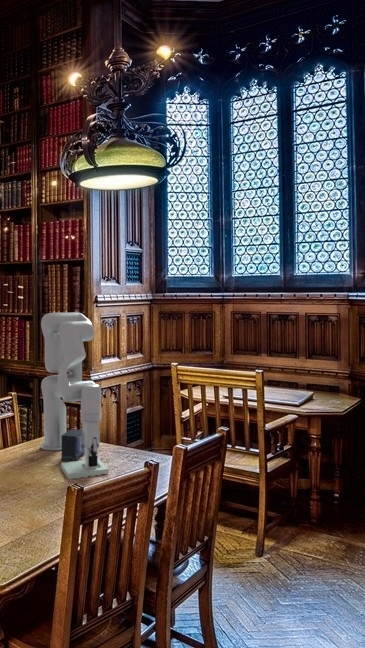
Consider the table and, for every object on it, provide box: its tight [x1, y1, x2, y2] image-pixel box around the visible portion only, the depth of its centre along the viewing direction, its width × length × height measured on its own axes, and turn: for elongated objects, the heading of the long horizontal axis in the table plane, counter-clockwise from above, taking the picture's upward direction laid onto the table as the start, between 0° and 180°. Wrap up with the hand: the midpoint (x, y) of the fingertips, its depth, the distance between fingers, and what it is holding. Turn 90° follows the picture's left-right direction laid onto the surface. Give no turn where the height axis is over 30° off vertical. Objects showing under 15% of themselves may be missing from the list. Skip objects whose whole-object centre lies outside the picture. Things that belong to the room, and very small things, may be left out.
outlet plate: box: [60, 457, 110, 480], centre depth 211 cm, size 14×15×2 cm
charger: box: [84, 446, 99, 469], centre depth 211 cm, size 4×4×10 cm
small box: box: [60, 428, 85, 462], centre depth 229 cm, size 11×6×10 cm, turn 168°
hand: (91, 463), depth 211 cm, fingers open, 4 cm apart
